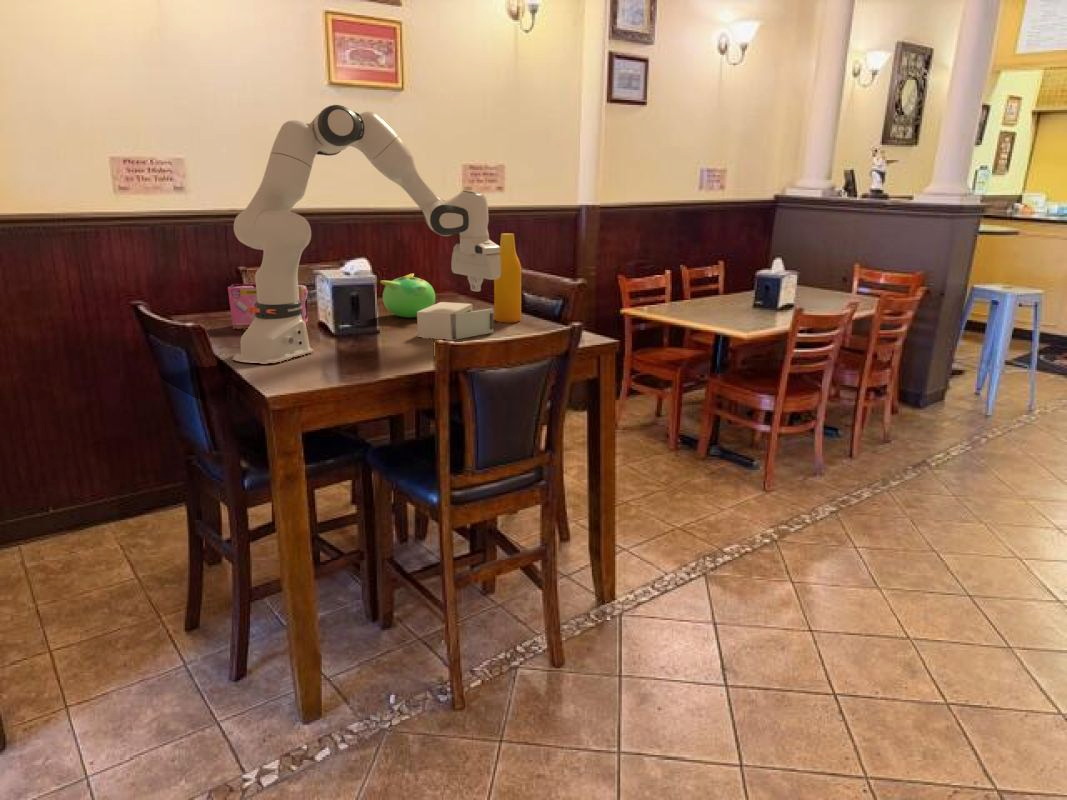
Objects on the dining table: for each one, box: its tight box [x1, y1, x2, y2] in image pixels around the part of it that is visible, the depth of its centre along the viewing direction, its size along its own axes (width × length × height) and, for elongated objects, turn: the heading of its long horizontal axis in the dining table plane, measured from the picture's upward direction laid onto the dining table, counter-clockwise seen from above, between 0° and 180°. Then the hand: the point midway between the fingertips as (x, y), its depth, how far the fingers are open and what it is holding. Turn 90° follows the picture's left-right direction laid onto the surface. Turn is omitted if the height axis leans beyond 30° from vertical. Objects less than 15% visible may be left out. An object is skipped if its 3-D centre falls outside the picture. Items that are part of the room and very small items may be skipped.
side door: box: [452, 308, 495, 341], centre depth 231 cm, size 16×2×8 cm, turn 133°
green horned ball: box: [379, 273, 436, 319], centre depth 258 cm, size 18×17×15 cm
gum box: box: [227, 282, 309, 325], centre depth 242 cm, size 24×8×14 cm, turn 97°
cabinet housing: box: [416, 301, 474, 341], centre depth 237 cm, size 20×11×8 cm, turn 163°
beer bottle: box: [493, 232, 522, 324], centre depth 252 cm, size 9×9×29 cm
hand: (475, 290), depth 233 cm, fingers closed
